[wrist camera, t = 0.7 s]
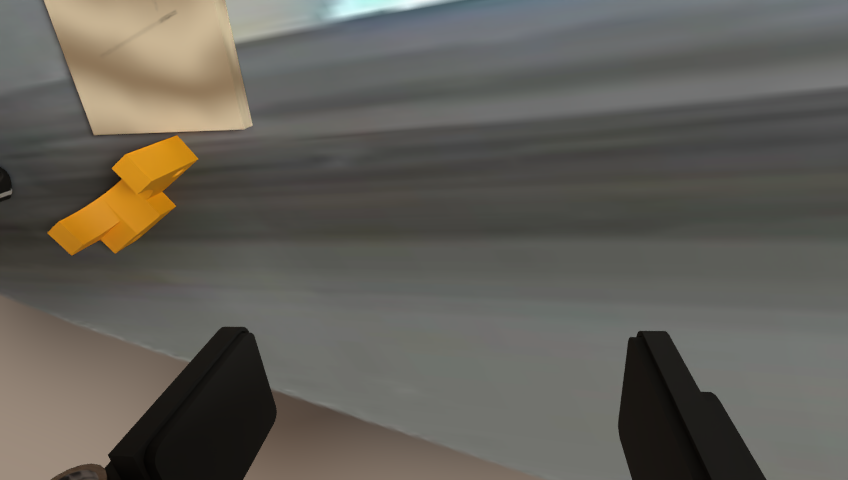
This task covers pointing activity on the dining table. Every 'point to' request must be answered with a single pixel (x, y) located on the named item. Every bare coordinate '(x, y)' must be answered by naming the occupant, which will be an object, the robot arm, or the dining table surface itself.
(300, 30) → the dining table surface
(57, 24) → the board
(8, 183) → the battery charger
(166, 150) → the pipe clamp
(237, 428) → the robot arm
